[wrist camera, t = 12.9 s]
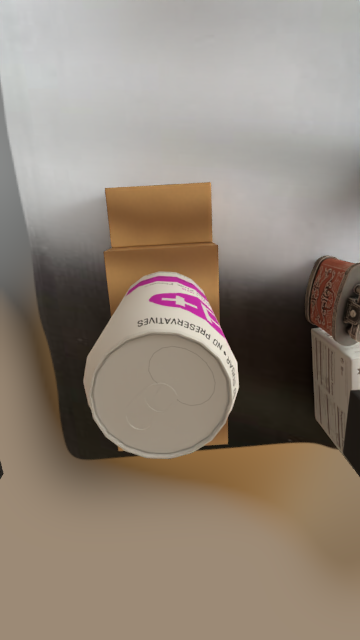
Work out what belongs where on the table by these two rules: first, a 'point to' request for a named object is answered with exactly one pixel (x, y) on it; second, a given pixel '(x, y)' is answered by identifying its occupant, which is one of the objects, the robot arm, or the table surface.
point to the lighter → (335, 299)
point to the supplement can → (161, 370)
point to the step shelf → (162, 242)
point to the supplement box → (333, 382)
